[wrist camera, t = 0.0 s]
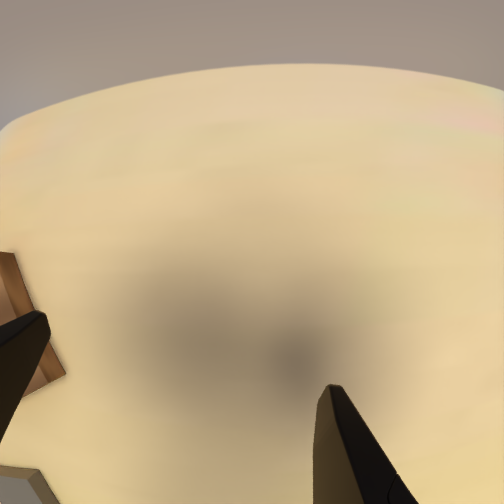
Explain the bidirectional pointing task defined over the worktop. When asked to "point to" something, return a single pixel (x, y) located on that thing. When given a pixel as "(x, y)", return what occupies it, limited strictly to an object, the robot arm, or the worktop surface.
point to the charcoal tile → (24, 487)
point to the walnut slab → (15, 305)
